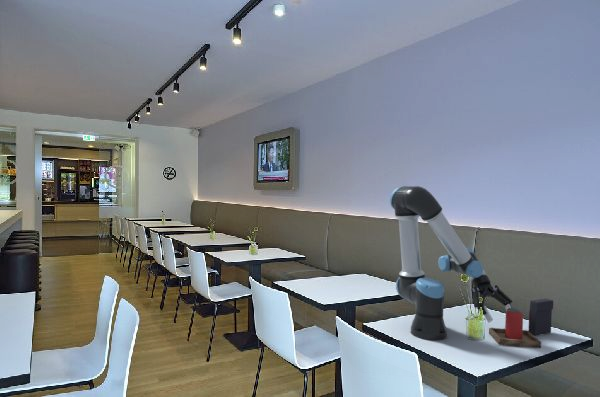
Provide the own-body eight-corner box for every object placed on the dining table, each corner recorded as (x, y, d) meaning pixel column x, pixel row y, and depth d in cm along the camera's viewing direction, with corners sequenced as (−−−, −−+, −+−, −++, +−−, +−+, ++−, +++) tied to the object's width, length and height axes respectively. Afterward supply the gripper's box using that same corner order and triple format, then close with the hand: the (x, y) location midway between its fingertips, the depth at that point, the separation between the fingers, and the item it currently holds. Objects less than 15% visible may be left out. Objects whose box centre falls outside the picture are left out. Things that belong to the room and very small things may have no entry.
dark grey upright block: (543, 330, 190) (544, 297, 190) (552, 333, 186) (553, 300, 186) (527, 333, 185) (528, 300, 185) (536, 336, 182) (537, 302, 181)
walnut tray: (499, 344, 171) (499, 338, 170) (488, 333, 184) (489, 327, 184) (540, 348, 168) (541, 342, 168) (527, 336, 182) (527, 330, 182)
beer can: (525, 341, 173) (526, 312, 173) (509, 340, 173) (510, 311, 173) (517, 335, 180) (518, 307, 179) (502, 334, 180) (503, 307, 179)
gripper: (494, 281, 203) (518, 321, 189) (453, 283, 194) (475, 326, 181) (504, 272, 197) (529, 313, 184) (461, 275, 189) (485, 318, 175)
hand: (502, 320), depth 182 cm, fingers open, 13 cm apart
